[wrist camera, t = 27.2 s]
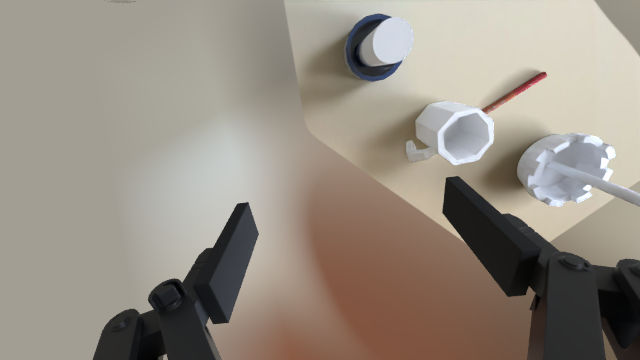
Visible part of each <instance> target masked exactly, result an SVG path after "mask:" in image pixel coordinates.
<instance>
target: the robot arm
mask: <svg viewBox="0 0 640 360" xmlns="http://www.w3.org/2000/svg"><path fill="white" fill-rule="evenodd" d="M442 213H443V214H444V215H445V217H446V218H447V219H448V220H449V222H450V223H451V224H452V226H453V227H454V228H455V229H456V231H457V232H458V233H459V235H460V236H461V237H462V238H463V240H464V241H465V242H466V244H467V245H468V246H469V247H470V249H471V250H472V251H473V253H474V254H475V255H476V256H477V258H478V259H479V260H480V262H481V263H482V264H483V265H484V267H485V268H486V269H487V270H488V272H489V273H490V274H491V276H492V277H493V278H494V280H495V281H496V282H497V283H498V285H499V286H500V287H501V289H502V290H503V291H504V292H505V294H506V295H507V296H508V297H511V296H521V295H526V292H527V289H528V286H530V287H531V288H532V290H533V291H534V292H535V293H536V294H535V296H534V299H533V302H532V305H531V307H530V310H532V319H531V328H530V337H529V347H528V357H527V360H606V358H605V350H604V343H603V342H604V341H603V333H602V329H603V331H604V333H605V335H606V337H607V339H608V341H609V343H610V345H611V347H612V349H613V351H614V353H615V355H616V358H617V360H640V261H639V260H635V259H623V260H620V261H619V262H618V263H617V265H616V267H615V268H614V267H605V266H597V265H591V264H590V263H589V262H588V261H587V260H585V259H583V258H582V257H579V256H577V255H574V254H572V253H567V252H560V251H559V250H557V249H556V248H555V247H554V246H553V245H551V244H550V243H549V242H548V241H547V240H545V239H544V238H543V237H542V236H540V235H539V234H538V233H537V232H535V231H534V230H533V229H532V228H531V227H528V225H527V224H526V223H525V222H523V221H522V220H521V219H519V218H517V217H515V216H513V215H511V214H501V213H500V212H499V211H498V210H496V209H495V208H494V207H493V206H492V205H491V204H490V203H488V202H487V201H486V200H485V199H484V198H483V197H482V196H480V195H479V194H478V193H477V192H476V191H475V190H474V189H472V188H471V187H470V186H469V185H468V184H467V183H466V182H464V181H463V180H462V179H461V178H460V177H459V176H455V177H447V178H446V183H445V193H444V202H443V212H442ZM258 235H259V233H258V231H257V227H256V224H255V221H254V218H253V215H252V212H251V209H250V206H249V203H248V202H247V203H239V204H237V205H236V207H235V209H234V211H233V213H232V214H231V216H230V218H229V220H228V222H227V223H226V225H225V227H224V229H223V231H222V233H221V234H220V236H219V238H218V240H217V242H216V243H215V245H214V247H213V248H206V249H205V250H204V251H203V252H202V253H201V254H200V255H199V256H198V258H197V259H196V261H195V264H194V265H193V266H192V268H191V270H190V271H189V273H188V274H187V276H186V278H185V279H184V281H183V283H182V282H181V281H180V280H179V279H170V280H167V281H164V282H162V283H161V284H159V285H158V286H157V287H155V288H154V289H153V290H152V291H151V293H150V295H149V297H148V301H149V303H150V304H151V306H152V307H153V309H154V310H152V311H149V312H146V313H143V314H139V312H138V311H137V310H135V309H129V310H125V311H123V312H121V313H119V314H117V315H116V316H115V317H114V318H112V319H111V320H110V321H109V322H108V323H107V324H106V325H105V327H104V329H103V331H102V334H101V337H100V340H99V343H98V346H97V348H96V352H95V354H94V357H93V360H163V355H165V354H167V357H168V360H222V359H221V357H220V355H219V352H218V350H217V348H216V346H215V343H214V341H213V339H212V336H211V334H210V333H209V330H208V328H207V326H206V323H207V321H208V319H209V317H210V319H211V321H212V323H213V324H220V323H229V320H230V317H231V314H232V311H233V307H234V305H235V302H236V299H237V296H238V293H239V290H240V288H241V285H242V282H243V278H244V276H245V273H246V270H247V267H248V264H249V261H250V258H251V255H252V252H253V249H254V246H255V243H256V240H257V237H258Z"/></svg>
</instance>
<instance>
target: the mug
mask: <svg viewBox="0 0 640 360" xmlns="http://www.w3.org/2000/svg"><path fill="white" fill-rule="evenodd" d="M415 127H416V137H417V138H418V139H419V140H421V141H422V142H423V143H425V144H426V145H427V146H428V148H426V149H420V150H417V149H416V146H415V144H414V143H413V141H412V140H410V141H408V142H406V152H407V156H408V158H409V160H410V161H411V162H416V161H421V160H427V159H429V158H431V157H432V156H433V155H435V154H436V153H438V154H440V155H441V156H442V157H444V158H445V159H447V160H448V161H449V162H451V163H452V164H454V165H458V164H463V163H468V162H473V161H478V160H479V159H480V157H481V156H482V155H483V154H484V153H485V151H486V150H487V149H488V148H489V146H490V145H491V144H492V143H493V142H494V139H493V120H492V119H491V118H490V117H489V116H487V115H486V114H485V113H484V112H483V111H482V110H481V109H479V108H478V107H473V106H469V105H464V104H460V103H455V102H451V101H442V102H437V103H433V104H428V105H427V107H426V108H425V109H424V110H423V112H422V113H421V114H420V115H419V116H418V118H417V119H416V120H415Z"/></svg>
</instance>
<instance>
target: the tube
mask: <svg viewBox="0 0 640 360" xmlns="http://www.w3.org/2000/svg"><path fill="white" fill-rule="evenodd" d="M413 41H414V34H413V30H412V27H411V26H410V24H409V23H408V22H407V21H406V20H404V19H402V18H399V17H392V18H389V19H386V20H385V21H383V22H382V23H381V24H380V25H379V26H378V27H377V28H375V29H374V30H373V31H372V32H371V33H370V34H369V35H368V36H367V37H365V38H364V39H363V40H362V41H361V42H360V43H359V45H358V47H357V51H356V56H357V59H358V61H359V63H360V64H361V65H363V66H366V67H372V66H379V65H386V64H393V63H397V62H400V61H401V60H403V59H404V58H405V57H406V56H407V55H408V54H409V52H410V50H411V48H412V46H413Z"/></svg>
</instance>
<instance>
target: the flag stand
mask: <svg viewBox="0 0 640 360" xmlns="http://www.w3.org/2000/svg"><path fill="white" fill-rule="evenodd" d="M600 139H601V138H599V137H595V136H591V135H586V134H582V133H570V134H564V135H552V136H548V137H545V138H542V139H540V140H539V141H537V142H535V143H534V144H532V145H531V146H530V147H529V148H528V149H527V150H526V151H525V152H524V154H523V155H522V157H521V158H520V160H519V163H518V167H517V175H518V178H519V180H520V181H521V183H522V184H524V187H525V189H526V190H527V192H528V193H529V194H530V195H531V196H533V197H534V198H536V199H538V200H540V201H542V202H544V203H546V204H548V205H551V206H562V204H563V202H566V201H570V200H572V201H574V202H576V203H578V202H580V201H583V200H585V199H587V198H588V197H590V196H592V194H591V193H590V192H589V191H588V190H589V189H591V188H592V187H595V188H597V189H599V190H602V191H604V192H606V193H609V194H611V195H614V196H616V197H618V198H621V199H623V200H625V201H628V202H630V203H632V204H635V205H637V206H640V194H639V193H637V192H634V191H631V190H629V189H626V188H624V187H621V186H618V185H616V184H613V183H611V182H608V181H607V180H608V179H609V178H610V176H611V174H612V172H613V170H611V169H608V168H606V167H607V164H608V160H609V159H611V158H614V157H616V155H615V151H614V149H613V147H612V145H609V144H605V143H603V142H602V141H601V140H600Z"/></svg>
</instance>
